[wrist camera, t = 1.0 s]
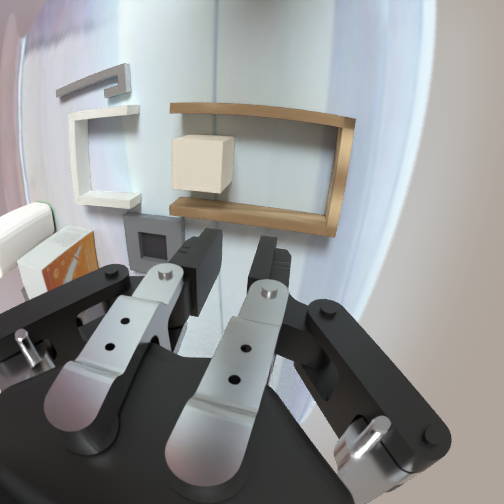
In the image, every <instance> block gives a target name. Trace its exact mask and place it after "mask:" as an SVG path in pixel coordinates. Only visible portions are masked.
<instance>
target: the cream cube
mask: <svg viewBox="0 0 504 504" xmlns="http://www.w3.org/2000/svg"><path fill="white" fill-rule="evenodd" d="M234 142H235V137H234V136H219V135H198V134H190V135H186V136H182V137H179V138H175V139H172V189H179V190H190V191H201V192H211V193H221V192H222V191H223V190H224V189H225V188H226V187H227V186H228V185H229V184H230V183H231V182H232V174H233V158H234Z"/></svg>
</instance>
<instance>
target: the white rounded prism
mask: <svg viewBox="0 0 504 504" xmlns="http://www.w3.org/2000/svg"><path fill="white" fill-rule="evenodd" d="M53 233H54V222H53V216H52V210H51V208H50V207H49V206H48V205H47V204H44V203H37V202H35V203H32V204H29V205H26V206H23V207H21V208H18V209H16V210H13V211H11V212H9V213H7V214H5V215H3V216H1V217H0V278H3V277H4V276H5V275H7V274H8V273H9V272H10V271H12V270H13V269H14V268H15V267H16V266H18V263H17V260H18V259H20V258H21V257H23V256H24V255H25V254H27V253H28V252H29V251H31V250H32V249H33V248H35V247H36V246H38V245H39V244H40V243H42V242H43V241H45V240H46V239H47V238H49V237H50V236H51V235H52V234H53Z"/></svg>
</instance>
